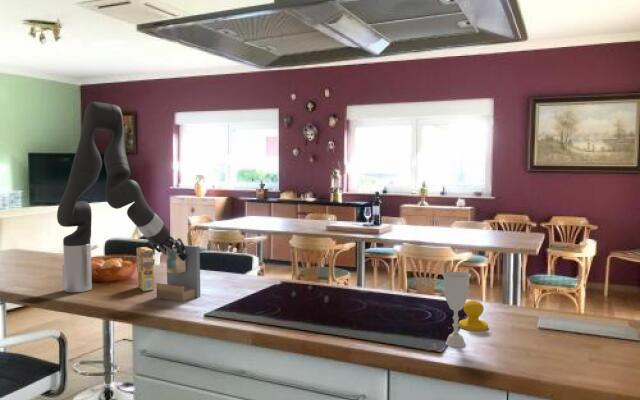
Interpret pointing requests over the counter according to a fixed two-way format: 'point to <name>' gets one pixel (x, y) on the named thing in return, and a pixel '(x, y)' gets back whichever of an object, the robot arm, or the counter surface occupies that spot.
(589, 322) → the counter surface
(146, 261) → the candy box
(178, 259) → the cabinet block
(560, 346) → the counter surface
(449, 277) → the chalice
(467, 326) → the doorknob
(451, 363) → the counter surface
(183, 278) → the cleat board
